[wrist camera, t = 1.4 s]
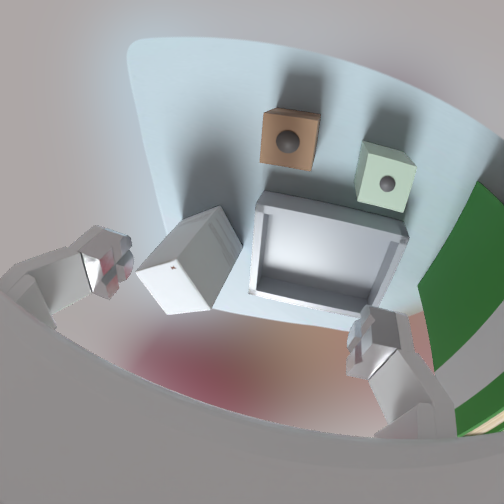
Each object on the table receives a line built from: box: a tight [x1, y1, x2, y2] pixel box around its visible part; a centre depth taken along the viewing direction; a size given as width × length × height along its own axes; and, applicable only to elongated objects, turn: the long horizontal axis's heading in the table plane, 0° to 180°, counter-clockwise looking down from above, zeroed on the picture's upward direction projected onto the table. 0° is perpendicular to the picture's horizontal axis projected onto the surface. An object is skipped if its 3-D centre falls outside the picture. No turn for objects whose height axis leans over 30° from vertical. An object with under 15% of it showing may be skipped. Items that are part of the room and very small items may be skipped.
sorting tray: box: [249, 191, 410, 319], centre depth 35 cm, size 18×14×4 cm
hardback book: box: [417, 181, 504, 437], centre depth 20 cm, size 18×7×24 cm, turn 168°
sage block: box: [354, 141, 417, 213], centre depth 26 cm, size 5×5×6 cm
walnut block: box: [260, 108, 321, 171], centre depth 27 cm, size 5×5×6 cm
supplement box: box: [135, 206, 243, 315], centre depth 35 cm, size 7×7×13 cm
